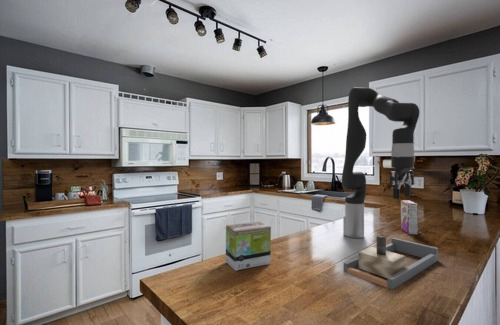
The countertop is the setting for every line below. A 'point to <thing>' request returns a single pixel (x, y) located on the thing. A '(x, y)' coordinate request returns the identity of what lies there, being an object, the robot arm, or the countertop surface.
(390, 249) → the frame
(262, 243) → the tea box
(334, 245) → the countertop surface
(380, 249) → the beige block
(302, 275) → the countertop surface
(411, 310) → the countertop surface
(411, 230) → the candy bar box
